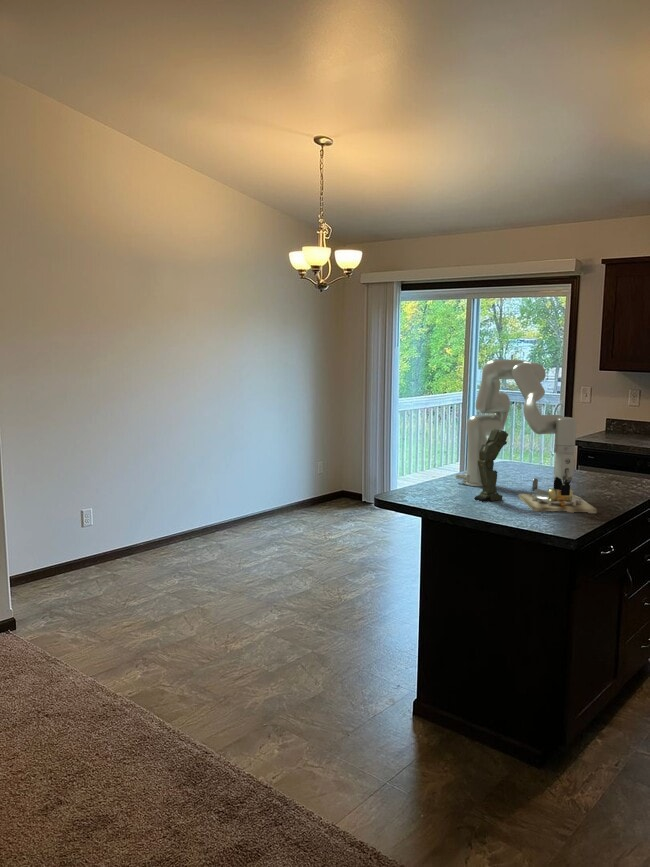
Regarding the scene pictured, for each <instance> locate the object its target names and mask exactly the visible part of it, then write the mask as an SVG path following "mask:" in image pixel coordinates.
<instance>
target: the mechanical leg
mask: <svg viewBox="0 0 650 867" xmlns="http://www.w3.org/2000/svg"><path fill="white" fill-rule="evenodd" d="M508 436H509V433H508V432H507V431H505V430H503V431H501V430H500V431H499V430H497V429H493V430H492V431H491V433H490V435H488V436H487V437H488V438H487V440H488V441H487V443H486V444H485V445H483V444H482V447H481V449H480V451H479V459H478V466H479V471H480V477H481V483H482V485H483V487H482V490H481V491H480V494H478V495H476V496H474V498H473V499H475V501H477V500H479V501H478V502H480V501H482V502H481V503H484V502H483V501H490V502H495V501H494V500H497V501H502V500H503V495H502V494H500V493H499V492H498V491H497V487H496V485H497V481H498V471H497V470H494V467H495V466H494V465H495V460H496V459H497V457H498V455H499V454H500V451H501V450H502V449H503V447H504V446H505V445H507V444H508V441H507V439H508Z"/></svg>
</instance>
